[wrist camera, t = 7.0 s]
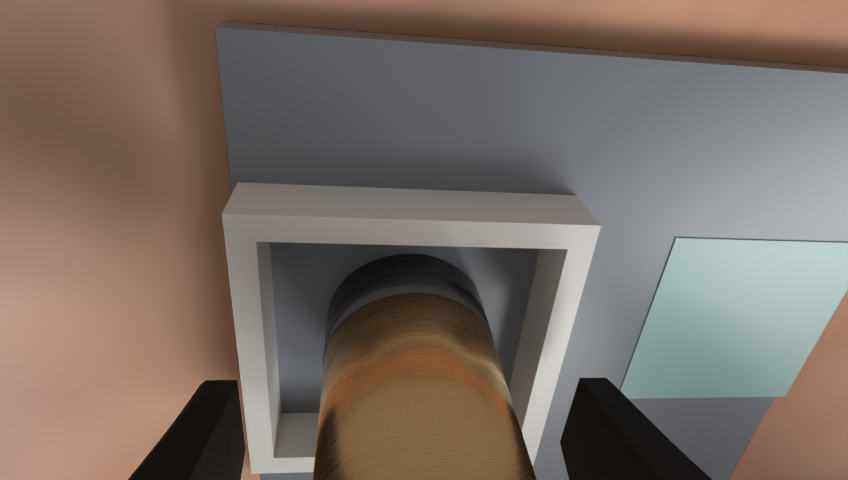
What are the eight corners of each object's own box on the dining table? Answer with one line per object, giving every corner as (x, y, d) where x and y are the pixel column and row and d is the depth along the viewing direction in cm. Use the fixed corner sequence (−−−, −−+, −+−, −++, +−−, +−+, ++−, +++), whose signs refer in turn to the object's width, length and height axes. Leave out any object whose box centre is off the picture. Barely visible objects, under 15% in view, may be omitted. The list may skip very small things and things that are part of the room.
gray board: (932, 74, 13) (1037, 100, 11) (721, 461, 20) (762, 521, 18) (224, 21, 11) (192, 42, 9) (266, 474, 18) (254, 544, 16)
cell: (493, 255, 13) (591, 501, 7) (471, 376, 15) (535, 645, 9) (327, 251, 13) (297, 512, 7) (326, 377, 15) (303, 660, 9)
